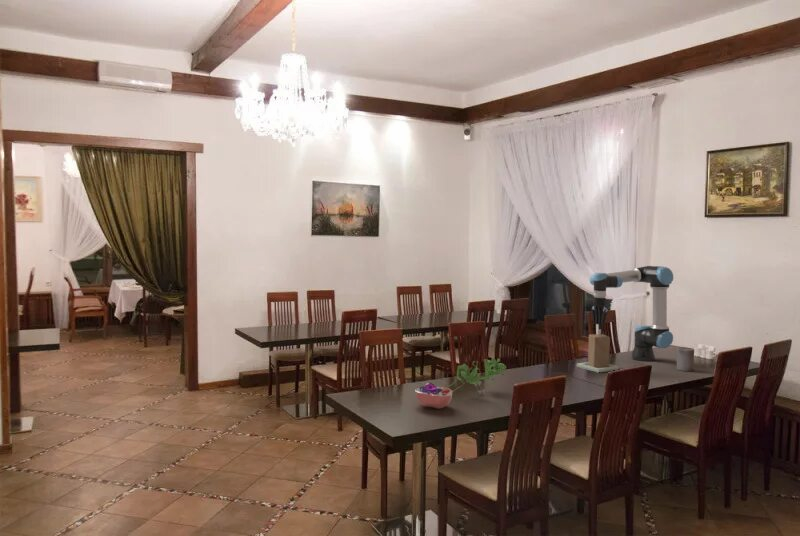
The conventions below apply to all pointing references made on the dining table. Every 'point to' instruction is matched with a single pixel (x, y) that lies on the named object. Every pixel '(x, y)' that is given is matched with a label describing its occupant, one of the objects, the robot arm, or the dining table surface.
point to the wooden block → (599, 351)
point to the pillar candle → (685, 359)
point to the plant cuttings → (472, 377)
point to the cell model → (433, 396)
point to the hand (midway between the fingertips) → (598, 334)
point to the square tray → (605, 369)
